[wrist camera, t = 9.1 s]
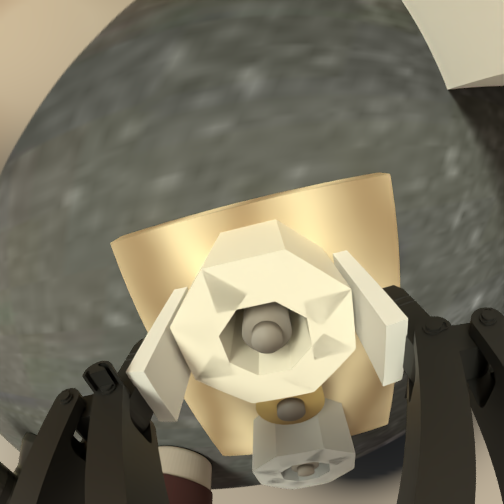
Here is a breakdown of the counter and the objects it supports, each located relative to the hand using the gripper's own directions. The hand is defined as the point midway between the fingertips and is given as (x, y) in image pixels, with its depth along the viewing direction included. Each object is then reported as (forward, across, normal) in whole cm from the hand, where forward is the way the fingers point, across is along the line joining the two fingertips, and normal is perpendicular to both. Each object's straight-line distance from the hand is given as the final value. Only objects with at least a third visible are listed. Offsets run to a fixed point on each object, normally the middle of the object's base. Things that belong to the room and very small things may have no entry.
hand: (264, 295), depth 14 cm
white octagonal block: (+1, 0, 0) cm, 1 cm away
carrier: (+3, 0, -6) cm, 7 cm away
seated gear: (+1, 0, -13) cm, 13 cm away
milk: (+3, +20, +16) cm, 26 cm away
